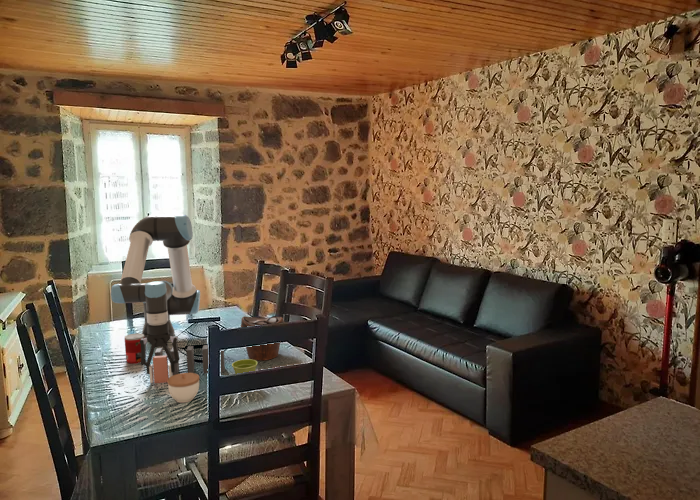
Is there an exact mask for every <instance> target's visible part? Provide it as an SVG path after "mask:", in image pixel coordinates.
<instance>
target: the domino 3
mask: <svg viewBox="0 0 700 500" xmlns="http://www.w3.org/2000/svg"><path fill="white" fill-rule="evenodd" d="M170 351H171V353H172V356H173V358H174V359H175V356H174V350H173V347H172V348H171V349H170ZM179 362H180V361H179ZM179 362H178V363H175V371H174V372H173V373H172V374H173V375H176V374H180V373H179V372H180V363H179Z"/></svg>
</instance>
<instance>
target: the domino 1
mask: <svg viewBox="0 0 700 500" xmlns="http://www.w3.org/2000/svg"><path fill="white" fill-rule="evenodd" d="M154 356H164V354H163V347H156V348H155V350H154Z"/></svg>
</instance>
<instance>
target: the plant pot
mask: <svg viewBox="0 0 700 500" xmlns="http://www.w3.org/2000/svg"><path fill="white" fill-rule="evenodd" d="M257 366H258V360H253V359H250V358H247V359H245V358H244V359H239V360H235V361H234V362H232V364H231V367H232V368H233V371H234V374H237V373H243V372H249V371H255V372H256V369H257Z"/></svg>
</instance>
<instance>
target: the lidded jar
mask: <svg viewBox="0 0 700 500" xmlns="http://www.w3.org/2000/svg"><path fill="white" fill-rule="evenodd" d="M167 385H168V386H167V387H168V391H169V392H168V393H169V394H170V396H171V398H172V399H174V400H175V401H176V402H177V403H189V402H191V401H192V400H194V398H196V396H197V394H198V393H199V390H200V389H199V388H200V375H199V374H198V373H195V372H194V373H188V372H181V373H178V374H176V375H173V376H171V377H170V378H169V379H168V382H167Z"/></svg>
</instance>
